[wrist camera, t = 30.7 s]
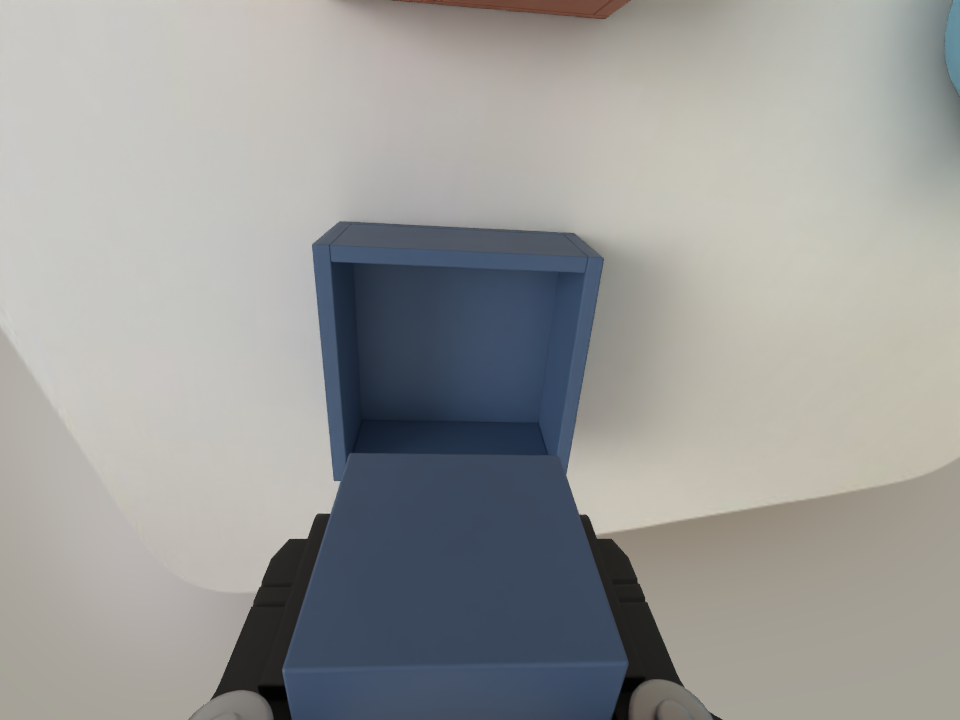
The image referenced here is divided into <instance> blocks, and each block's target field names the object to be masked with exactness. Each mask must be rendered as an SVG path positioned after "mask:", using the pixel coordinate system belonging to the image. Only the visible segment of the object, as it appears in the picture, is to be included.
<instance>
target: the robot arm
mask: <svg viewBox="0 0 960 720" xmlns="http://www.w3.org/2000/svg"><path fill="white" fill-rule="evenodd" d="M579 516H580V519H581V522H582V525H583V528H584V531H585V534H586V537H587V540H588V543H589V546H590V549H591V552H592V555H593V558H594V561H595V564H596V567H597V569H598V572H599V575H600V578H601V581H602V584H603V587H604V590H605V593H606V596H607V599H608V602H609V605H610V608H611V611H612V614H613V617H614V620H615V623H616V626H617V629H618V632H619V635H620V638H621V641H622V644H623V647H624V650H625V653H626V656H627V659H628V668H627V671H626V674H625V678H624V681H623V684H622V687H621V691H620V694H619V697H618V700H617V703H616V707H615V710H614V713H613V716H612V720H722V719H720V718H718V717H717V716H715V715H713V714H712V713H710V712H709V711H708V710H707V709H706V707H705V706H704V705H703V703H701V701H700V700H699V699H698V698H697V697H696V696H695V695H693V694H692V693H691V692H690V691H688V690H687V689H685V687H684V686H683V684H682V682H681V681H680V679H679V677H678V675H677V673H676V671H675V668H674V666H673V663H672V661H671V659H670V656H669V654H668V651H667V649H666V647H665V644H664V642H663V640H662V637H661V635H660V632H659V630H658V627H657V625H656V623H655V620H654V618H653V615H652V613H651V611H650V609H649V606H648V603H647V602H645V596H644V594H643V591H642V589H641V587H640V584H638V582H637V577H636V575H635V572H634V570H633V568H632V565H631V563H630V560H629V558H628V557H627V555H625V553H624V552H623V551H622V550H621V549H620V548H619V547H618V545H617V544H616V543H615V542H614V541H613V540H612V539H597V538H596V535H595V532H594V530H593V527H592V524H591V521H590V519H589V517H588V516H587V515H579ZM329 518H330V514H317V515H316V517H315V519H314V522H313V525H312V527H311V530H310V533H309V536H308V539H289V540H288V541H287V542H286V543H285V544H284V546H283V547H282V548H281V549H280V550H279V551H278V552H277V553H276V554H275V555H274V556H273V558H272V559H271V561H270V563H269V566H268V568H267V570H266V573H265V575H264V578H263V580H262V585H261V587H259V590H258V592H257V595H256V597H255V599H254V604H253V607H251V609H250V612H249V614H248V616H247V619H246V621H245V624H244V626H243V628H242V631H241V634H240V636H239V638H238V641H237V643H236V645H235V648H234V650H233V653H232V655H231V658H230V660H229V662H228V665H227V667H226V670H225V672H224V675H223V677H222V679H221V682H220V684H219V686H218V688H217V690H216V692H215V694H214V695H213V697H212V698H211V700H210V701H209V702H207V703H206V704H205V705H203V706H202V707H201V708H200V709H198V710H197V711H196V712H195V713H194V714H193V715H192V716H191V717H190V718H189V720H292V718H291V713H290V708H289V703H288V698H287V693H286V688H285V683H284V678H283V673H282V669H283V665H284V662H285V659H286V656H287V653H288V649H289V646H290V643H291V640H292V636H293V633H294V630H295V627H296V624H297V620H298V617H299V614H300V611H301V608H302V604H303V601H304V598H305V595H306V591H307V588H308V585H309V582H310V579H311V575H312V572H313V569H314V566H315V563H316V559H317V556H318V553H319V550H320V546H321V543H322V540H323V537H324V534H325V530H326V527H327V524H328V521H329Z"/></svg>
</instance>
